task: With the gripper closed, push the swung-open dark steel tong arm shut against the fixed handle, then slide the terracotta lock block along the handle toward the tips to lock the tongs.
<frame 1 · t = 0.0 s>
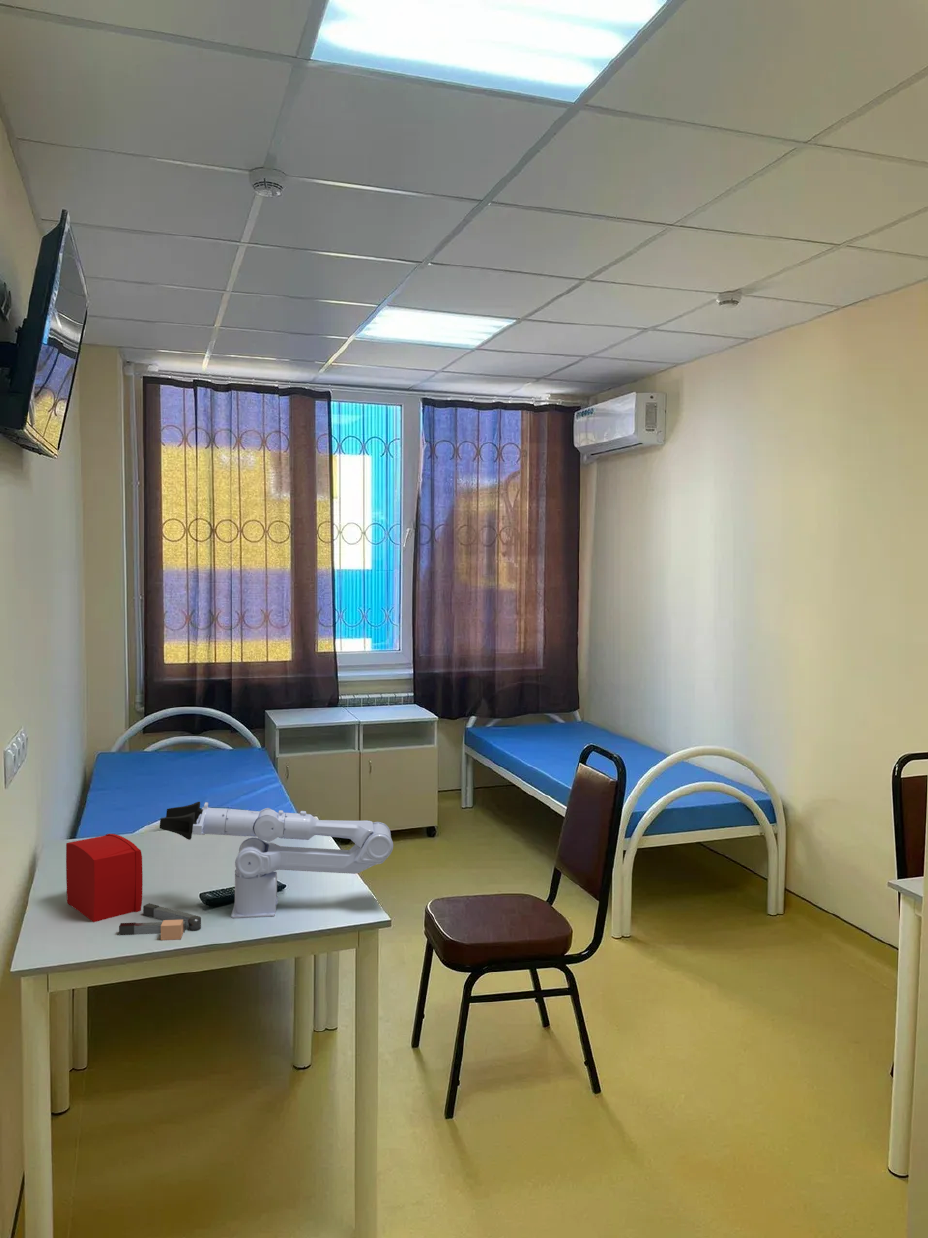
hand: (163, 818, 196), 22 cm above the table, tool horizontal, fingers open, 7 cm apart
red curved-top box: (104, 908, 201), on the table
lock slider: (172, 929, 185), point 2 cm above the table, slide at 0.0 cm
tongs handle: (194, 929, 190), on the table
tongs arm: (171, 917, 193), point 1 cm above the table, hinge at -35.0°
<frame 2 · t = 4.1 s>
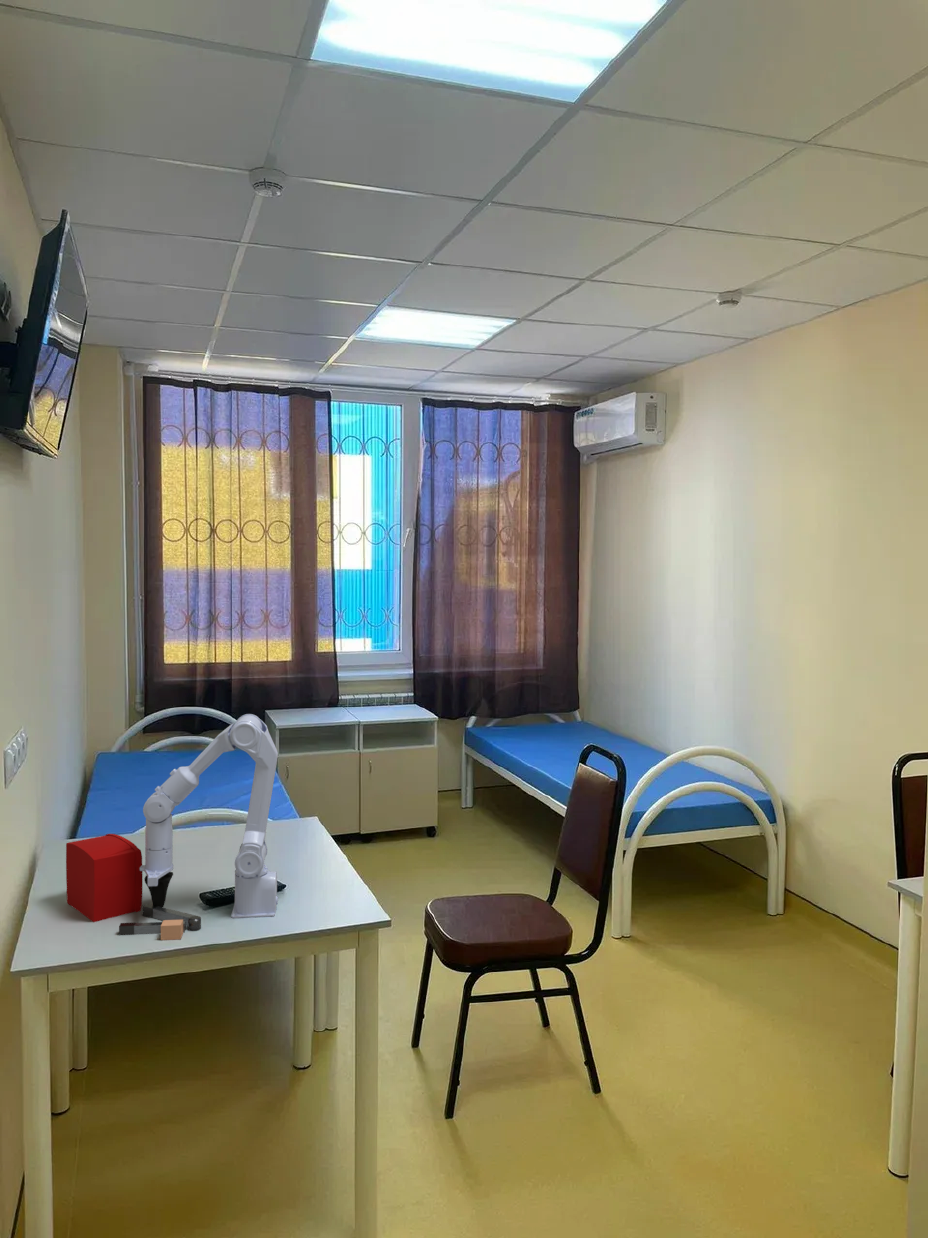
hand: (158, 907, 197), 2 cm above the table, tool pointing down, fingers closed, pressing on tongs arm
tongs arm: (171, 917, 193), point 1 cm above the table, hinge at -34.2°, touching gripper
everything else where it was.
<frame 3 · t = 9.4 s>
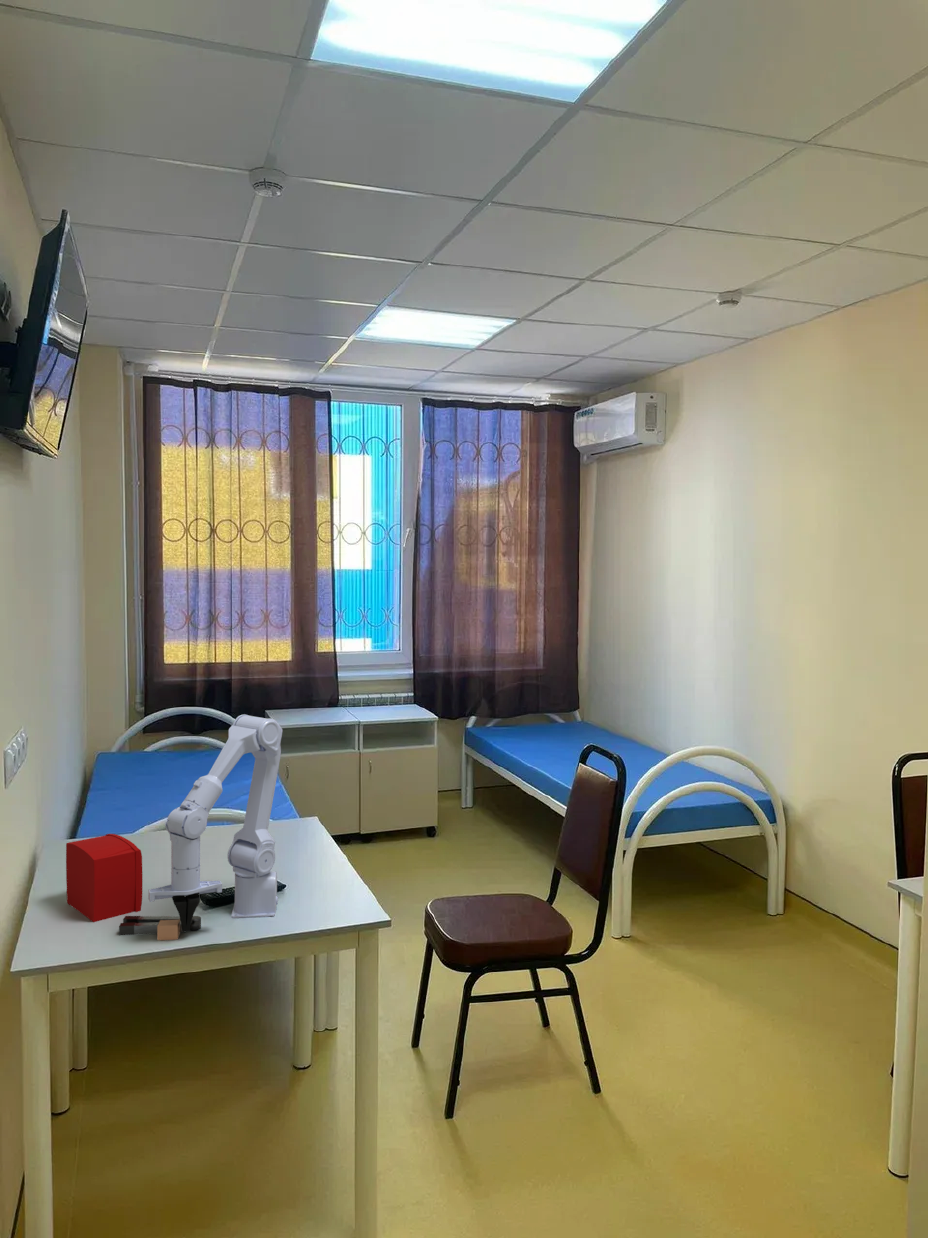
hand: (185, 929, 185), 2 cm above the table, tool pointing down, fingers closed
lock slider: (168, 930, 185), point 2 cm above the table, slide at 0.7 cm, touching gripper
tongs arm: (162, 923, 189), point 1 cm above the table, hinge at -5.2°
everything else where it was.
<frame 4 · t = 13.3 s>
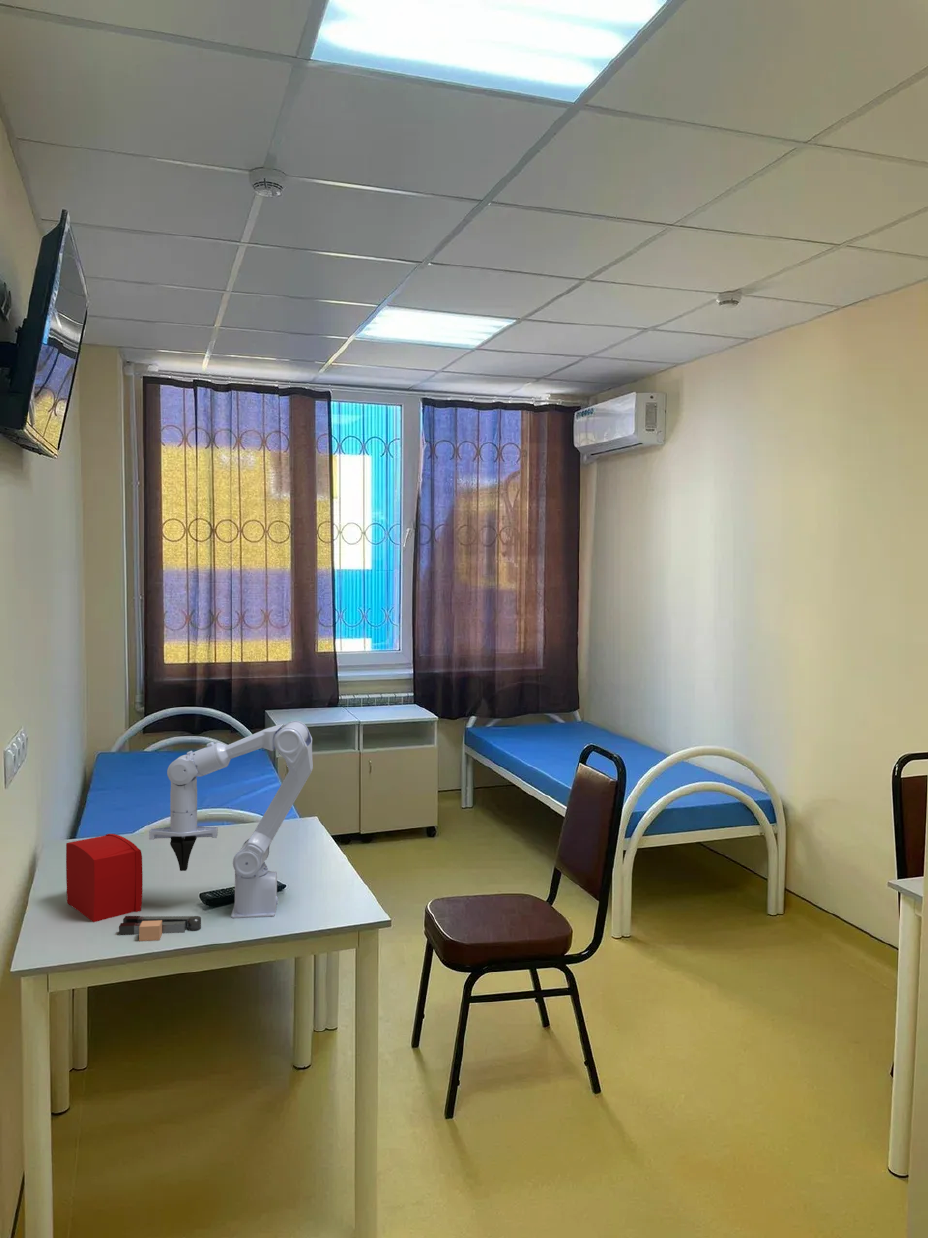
hand: (183, 869, 199), 9 cm above the table, tool pointing down, fingers closed
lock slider: (150, 930, 184), point 2 cm above the table, slide at 4.3 cm
everything else where it was.
at the end: tongs arm at -5° (first picture: -35°); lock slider slide at 4.3 cm; red curved-top box moved 0.3 cm from its start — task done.
